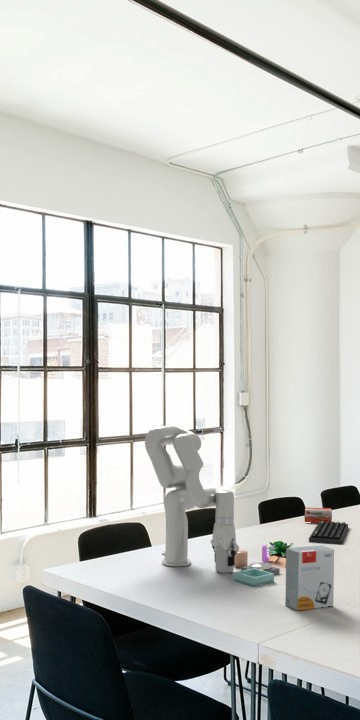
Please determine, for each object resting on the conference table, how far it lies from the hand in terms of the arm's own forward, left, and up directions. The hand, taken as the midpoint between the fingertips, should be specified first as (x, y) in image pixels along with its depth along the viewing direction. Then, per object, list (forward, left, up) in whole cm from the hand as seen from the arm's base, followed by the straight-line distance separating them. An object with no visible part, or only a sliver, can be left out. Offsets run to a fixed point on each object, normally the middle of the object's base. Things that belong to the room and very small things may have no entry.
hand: (224, 563), depth 297 cm
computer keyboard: (-25, +97, -4) cm, 100 cm away
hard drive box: (+53, -8, -4) cm, 54 cm away
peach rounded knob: (-3, +12, -3) cm, 13 cm away
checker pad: (+10, +11, -1) cm, 15 cm away
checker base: (+10, +11, -3) cm, 15 cm away
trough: (+18, -1, -3) cm, 18 cm away
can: (0, 0, -4) cm, 4 cm away
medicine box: (-51, +119, -4) cm, 129 cm away
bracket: (-5, +33, -4) cm, 33 cm away
